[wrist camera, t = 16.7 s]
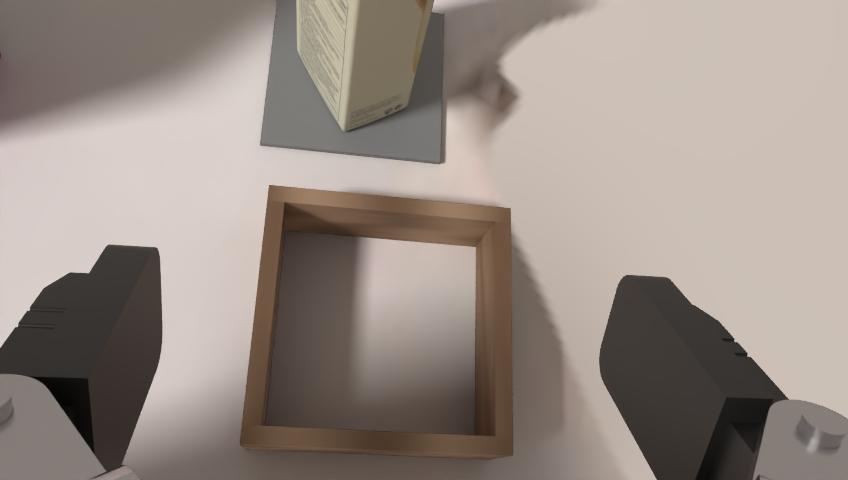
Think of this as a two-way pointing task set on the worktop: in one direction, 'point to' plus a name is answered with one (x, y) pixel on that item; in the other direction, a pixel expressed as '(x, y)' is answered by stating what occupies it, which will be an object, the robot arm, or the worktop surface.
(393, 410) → the worktop surface
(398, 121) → the rubber mat
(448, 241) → the walnut box
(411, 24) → the skincare box
